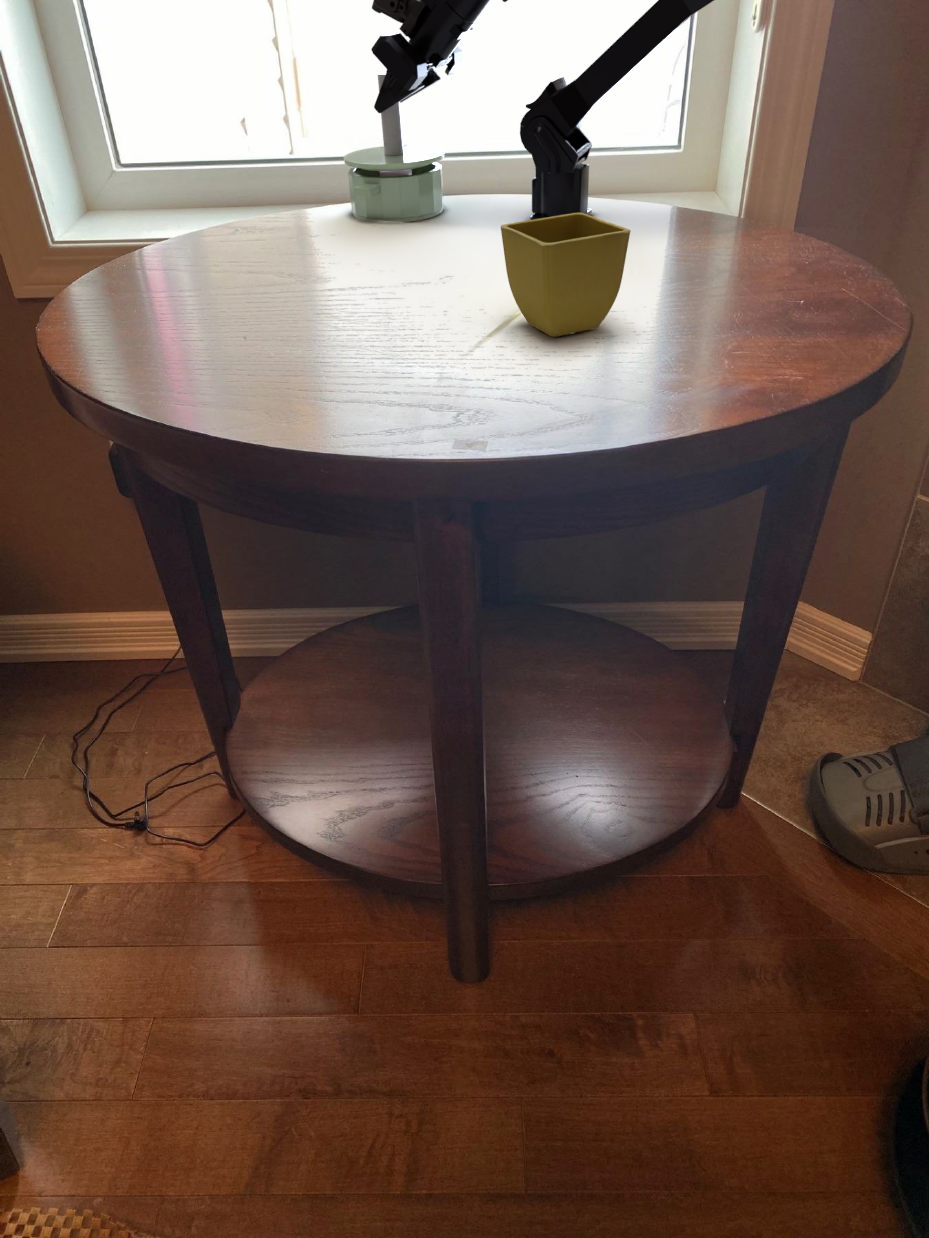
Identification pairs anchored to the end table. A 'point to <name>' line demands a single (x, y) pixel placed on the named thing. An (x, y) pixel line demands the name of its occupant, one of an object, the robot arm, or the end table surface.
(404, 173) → the block
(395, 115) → the lid
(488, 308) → the end table surface
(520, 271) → the flower pot
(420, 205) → the pot
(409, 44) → the robot arm
